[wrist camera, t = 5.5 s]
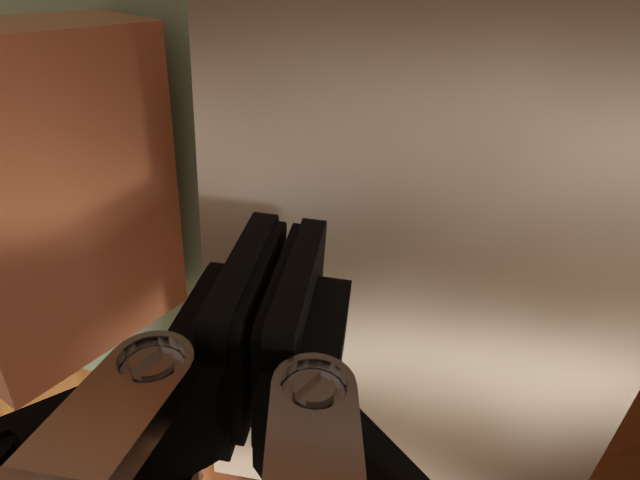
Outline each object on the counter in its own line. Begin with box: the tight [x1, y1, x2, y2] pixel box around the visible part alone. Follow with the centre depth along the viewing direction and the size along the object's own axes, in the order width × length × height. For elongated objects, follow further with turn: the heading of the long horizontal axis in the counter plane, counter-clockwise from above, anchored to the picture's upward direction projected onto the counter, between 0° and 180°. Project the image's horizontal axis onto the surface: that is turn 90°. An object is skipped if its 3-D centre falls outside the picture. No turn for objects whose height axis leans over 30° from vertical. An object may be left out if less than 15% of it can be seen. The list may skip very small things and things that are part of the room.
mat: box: [0, 0, 203, 370], centre depth 17 cm, size 20×11×1 cm, turn 176°
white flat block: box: [187, 0, 640, 480], centre depth 14 cm, size 20×12×4 cm, turn 176°
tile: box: [0, 9, 187, 411], centre depth 13 cm, size 9×6×2 cm
